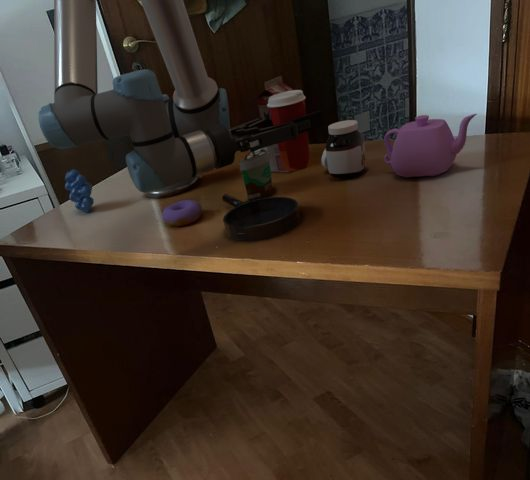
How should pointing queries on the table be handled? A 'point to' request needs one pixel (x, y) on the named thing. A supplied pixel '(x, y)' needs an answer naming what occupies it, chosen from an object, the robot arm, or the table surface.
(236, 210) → the pan
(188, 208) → the donut
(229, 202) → the pan handle
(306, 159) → the paper cup
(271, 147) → the juice carton
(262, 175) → the food container
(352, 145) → the spread jar
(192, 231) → the table surface
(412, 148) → the teapot
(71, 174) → the grapes
